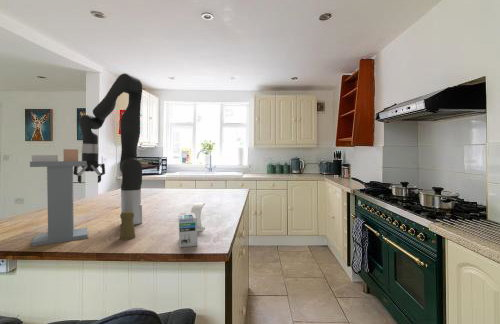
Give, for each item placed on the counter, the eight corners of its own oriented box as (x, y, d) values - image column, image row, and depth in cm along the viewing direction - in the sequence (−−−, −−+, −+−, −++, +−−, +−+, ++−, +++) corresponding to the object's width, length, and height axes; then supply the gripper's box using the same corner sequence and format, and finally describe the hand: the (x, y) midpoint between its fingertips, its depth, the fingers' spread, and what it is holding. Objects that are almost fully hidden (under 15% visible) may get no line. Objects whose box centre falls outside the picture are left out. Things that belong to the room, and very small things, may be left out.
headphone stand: (205, 228, 121) (204, 202, 121) (199, 231, 115) (199, 205, 115) (195, 227, 122) (195, 202, 122) (190, 231, 116) (190, 204, 116)
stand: (87, 230, 117) (86, 155, 117) (87, 238, 106) (86, 155, 106) (36, 237, 107) (35, 155, 107) (31, 246, 97) (29, 155, 96)
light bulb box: (197, 246, 96) (197, 217, 96) (179, 248, 94) (178, 218, 94) (195, 237, 106) (195, 211, 106) (178, 239, 104) (178, 213, 104)
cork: (129, 240, 103) (128, 213, 103) (116, 239, 104) (115, 212, 104) (138, 235, 109) (138, 210, 109) (126, 235, 110) (125, 209, 110)
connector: (79, 161, 122) (78, 150, 122) (78, 161, 108) (78, 149, 108) (66, 161, 120) (66, 150, 120) (63, 161, 105) (63, 149, 105)
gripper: (106, 153, 144) (105, 182, 144) (76, 152, 138) (75, 182, 138) (104, 152, 137) (103, 183, 137) (72, 152, 131) (72, 183, 131)
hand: (89, 182), depth 138 cm, fingers open, 8 cm apart
